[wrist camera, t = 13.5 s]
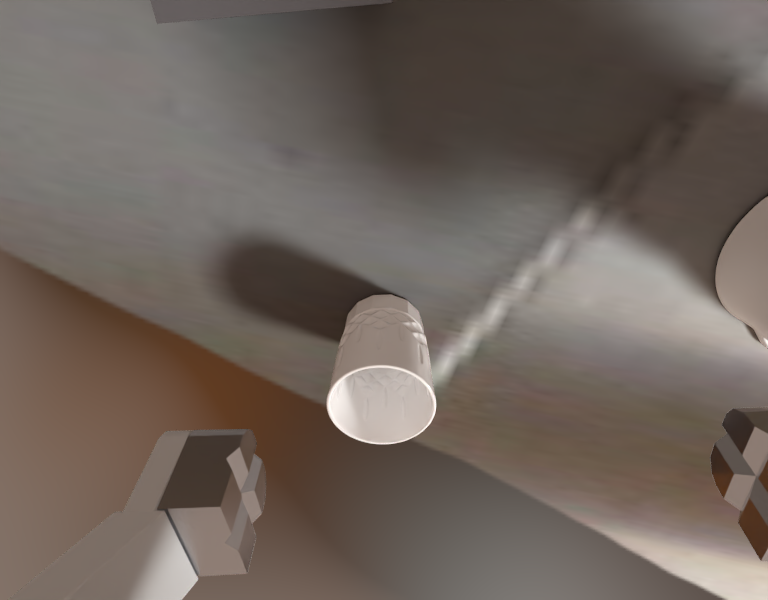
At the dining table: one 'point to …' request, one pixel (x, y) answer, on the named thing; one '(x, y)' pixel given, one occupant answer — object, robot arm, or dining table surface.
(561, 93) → the dining table surface
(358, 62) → the dining table surface
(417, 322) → the white cup
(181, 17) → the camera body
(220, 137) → the dining table surface
